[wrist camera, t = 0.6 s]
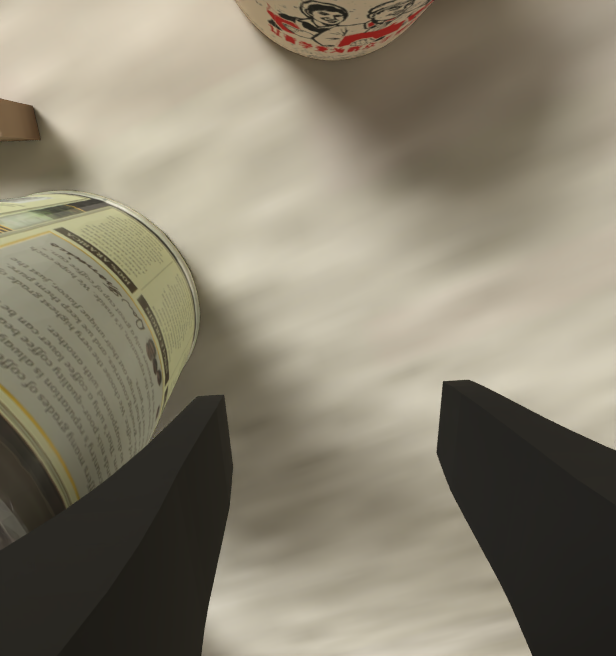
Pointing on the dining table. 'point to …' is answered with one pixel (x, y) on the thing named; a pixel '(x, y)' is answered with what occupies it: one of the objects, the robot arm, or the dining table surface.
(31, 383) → the coffee can
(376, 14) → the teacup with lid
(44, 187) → the dining table surface
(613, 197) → the dining table surface
